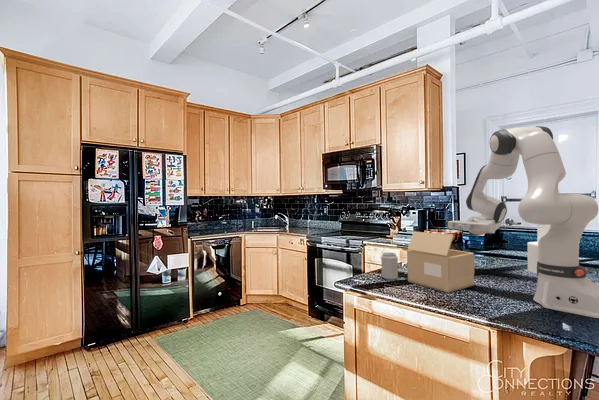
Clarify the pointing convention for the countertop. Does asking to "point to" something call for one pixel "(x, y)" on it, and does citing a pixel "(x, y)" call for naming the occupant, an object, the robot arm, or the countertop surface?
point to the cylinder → (535, 248)
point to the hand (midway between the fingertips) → (460, 227)
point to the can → (389, 266)
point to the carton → (441, 270)
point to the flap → (430, 243)
